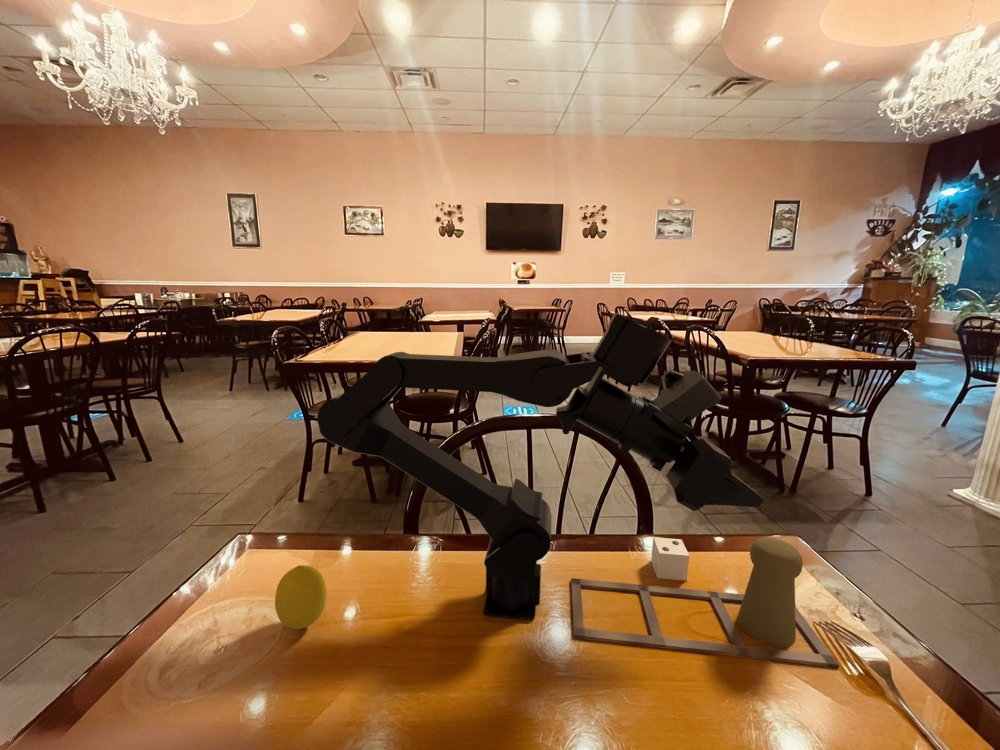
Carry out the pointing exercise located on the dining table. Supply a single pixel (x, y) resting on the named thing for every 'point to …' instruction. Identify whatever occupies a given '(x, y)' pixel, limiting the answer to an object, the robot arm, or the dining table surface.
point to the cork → (771, 593)
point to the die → (670, 559)
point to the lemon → (300, 597)
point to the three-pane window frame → (659, 641)
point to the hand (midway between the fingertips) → (742, 483)
